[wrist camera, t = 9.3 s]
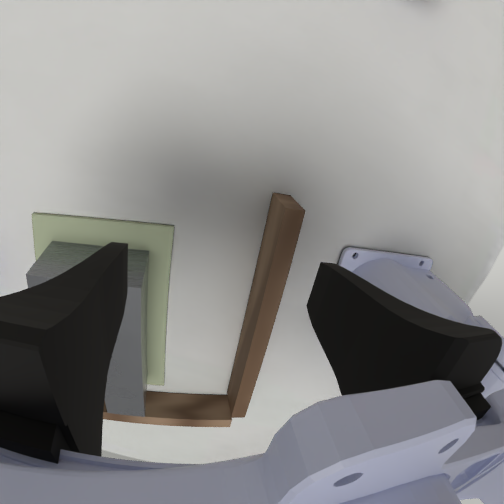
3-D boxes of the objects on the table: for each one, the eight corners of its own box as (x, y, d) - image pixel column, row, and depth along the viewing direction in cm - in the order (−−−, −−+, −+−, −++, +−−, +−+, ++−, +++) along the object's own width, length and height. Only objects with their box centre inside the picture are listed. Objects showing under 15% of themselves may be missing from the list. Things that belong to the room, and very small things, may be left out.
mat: (174, 225, 20) (173, 227, 20) (164, 383, 26) (164, 385, 26) (33, 212, 18) (31, 214, 18) (59, 369, 24) (58, 372, 24)
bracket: (147, 375, 25) (145, 417, 21) (71, 365, 24) (60, 405, 20) (149, 250, 20) (141, 288, 16) (52, 240, 19) (26, 274, 15)
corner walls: (290, 195, 21) (305, 210, 18) (236, 402, 29) (241, 426, 27) (-12, 168, 16) (-36, 179, 13) (30, 380, 24) (21, 402, 21)
